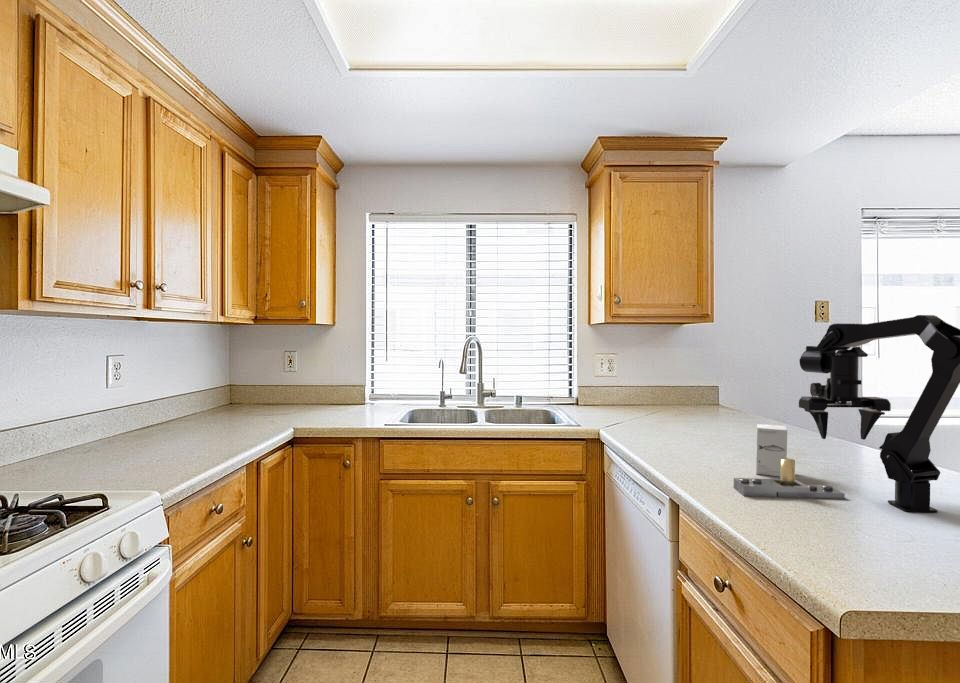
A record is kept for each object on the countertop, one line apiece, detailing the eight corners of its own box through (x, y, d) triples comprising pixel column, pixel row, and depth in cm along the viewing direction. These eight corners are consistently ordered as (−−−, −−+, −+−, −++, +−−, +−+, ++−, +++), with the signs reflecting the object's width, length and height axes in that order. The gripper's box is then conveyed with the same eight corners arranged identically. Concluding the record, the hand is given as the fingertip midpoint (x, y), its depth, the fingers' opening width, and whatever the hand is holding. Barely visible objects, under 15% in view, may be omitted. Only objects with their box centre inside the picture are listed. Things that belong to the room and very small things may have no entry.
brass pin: (796, 495, 132) (797, 461, 131) (783, 494, 132) (783, 460, 132) (791, 491, 135) (791, 458, 134) (778, 491, 135) (778, 458, 135)
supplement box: (755, 474, 150) (755, 427, 150) (756, 468, 157) (756, 423, 156) (787, 478, 147) (787, 429, 146) (786, 471, 153) (787, 425, 153)
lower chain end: (844, 498, 129) (844, 491, 129) (778, 497, 130) (778, 489, 130) (828, 490, 136) (828, 482, 136) (765, 488, 137) (765, 481, 137)
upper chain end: (809, 497, 129) (810, 484, 129) (744, 496, 131) (744, 483, 131) (795, 489, 136) (796, 476, 136) (733, 487, 138) (733, 475, 138)
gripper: (863, 372, 144) (863, 433, 145) (788, 372, 146) (787, 432, 146) (892, 376, 133) (891, 442, 134) (810, 375, 134) (810, 441, 135)
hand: (843, 439), depth 137 cm, fingers open, 9 cm apart
